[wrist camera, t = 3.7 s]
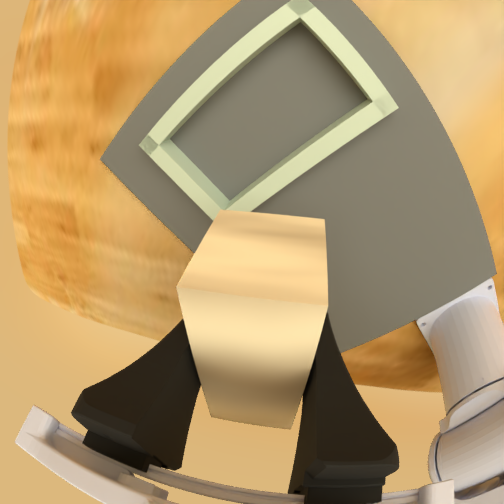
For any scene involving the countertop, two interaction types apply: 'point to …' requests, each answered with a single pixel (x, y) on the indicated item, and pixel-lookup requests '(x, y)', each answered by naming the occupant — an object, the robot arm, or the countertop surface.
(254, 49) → the sage frame
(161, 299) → the countertop surface
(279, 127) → the rubber mat
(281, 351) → the birch block
